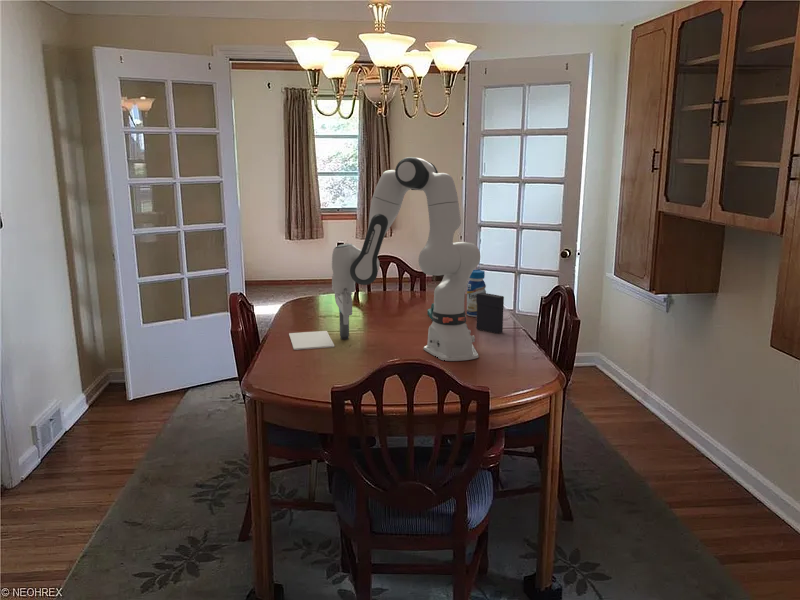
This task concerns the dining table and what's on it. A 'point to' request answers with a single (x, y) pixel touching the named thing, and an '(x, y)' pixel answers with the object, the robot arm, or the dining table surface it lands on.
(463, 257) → the robot arm
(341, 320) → the marker
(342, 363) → the dining table surface
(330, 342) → the paper
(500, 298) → the upright charcoal panel
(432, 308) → the bracket
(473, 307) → the beverage bottle
